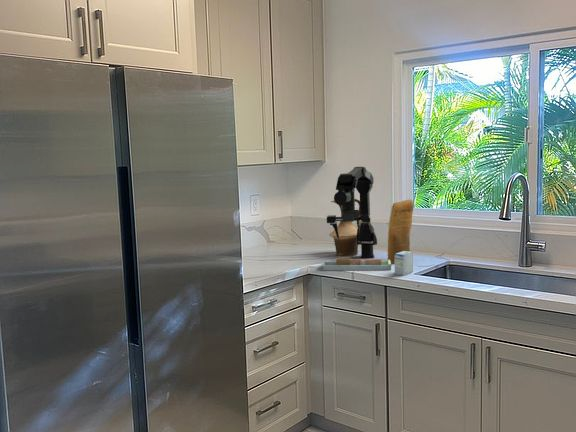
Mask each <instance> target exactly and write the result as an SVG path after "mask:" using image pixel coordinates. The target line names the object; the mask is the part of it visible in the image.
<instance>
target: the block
mask: <svg viewBox="0 0 576 432" xmlns="http://www.w3.org/2000/svg"><path fill="white" fill-rule="evenodd" d="M350 260H351V256H338V257H336V259H335V261H336V265H351V264H350Z"/></svg>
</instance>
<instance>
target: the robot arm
mask: <svg viewBox="0 0 576 432" xmlns="http://www.w3.org/2000/svg"><path fill="white" fill-rule="evenodd" d="M374 181H375V179H374V177H373V174H372V172H370V171H369V170H368V169H366V167H365V166H355V167H353V169H351V170H350V171H349V172H346V173H340V174H339V176H338V177H337V180H336V186H335V190H336V191H337V192H335V194H334V197H333V201H335V203H334V204H336V205H338V206H339V205H341V208H342V212H341V211H340V216H337V215H336V214H335V215H332V214H329V215H327V216H326V224H329V225H330V226H332V227H333V229H334V230H335V232H336V235H337V238H338V239H339V234H338V222H340V221H343V222H346V221H351V222H352V223H353V222H354V221H355V222H357V221H360V226H359V228H358V227H357V235H356V237H357V244H358V246H361V247H360V249H361V253H360V259H373V258H374V259H375V253H374V246H377V245H378V238H377V234H376V232H375V229H374V226H373V225H372V224H371V205H370V204H371V203H370V199H371V198H370V192H371V191H372V189H373V187H374V186H373V185H374ZM355 189H356V190H355ZM355 191H357V192H358V194H359V200H360V216H358V211H359V209H355V206H356V204H355V203H356V202H355V199H356V198H355ZM341 216H342V217H341Z"/></svg>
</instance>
